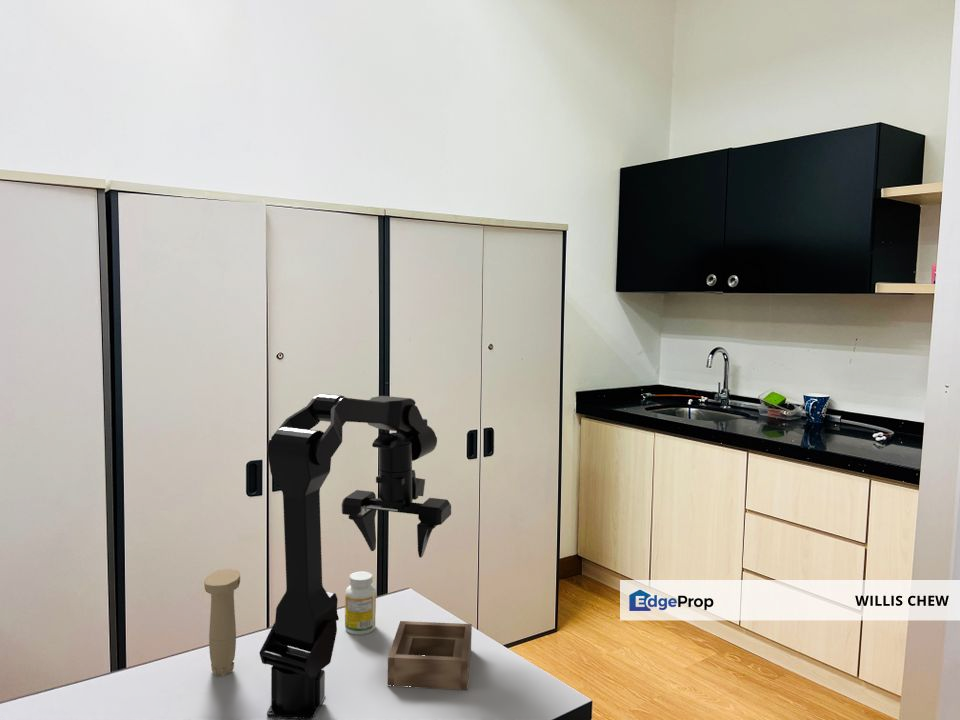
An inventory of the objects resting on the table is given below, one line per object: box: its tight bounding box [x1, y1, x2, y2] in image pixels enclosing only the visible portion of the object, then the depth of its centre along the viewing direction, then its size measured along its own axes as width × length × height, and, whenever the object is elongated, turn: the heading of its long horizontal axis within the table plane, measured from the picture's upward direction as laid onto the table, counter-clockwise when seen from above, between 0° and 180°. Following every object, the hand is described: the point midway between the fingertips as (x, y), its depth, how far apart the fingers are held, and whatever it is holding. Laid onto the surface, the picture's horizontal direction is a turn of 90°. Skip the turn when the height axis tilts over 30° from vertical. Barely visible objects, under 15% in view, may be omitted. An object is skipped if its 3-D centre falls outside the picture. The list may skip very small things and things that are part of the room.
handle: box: [203, 568, 241, 677], centre depth 105 cm, size 5×6×15 cm
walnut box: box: [387, 620, 473, 691], centre depth 108 cm, size 12×12×4 cm
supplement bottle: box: [344, 571, 377, 636], centre depth 120 cm, size 5×5×10 cm
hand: (397, 553), depth 121 cm, fingers open, 9 cm apart
